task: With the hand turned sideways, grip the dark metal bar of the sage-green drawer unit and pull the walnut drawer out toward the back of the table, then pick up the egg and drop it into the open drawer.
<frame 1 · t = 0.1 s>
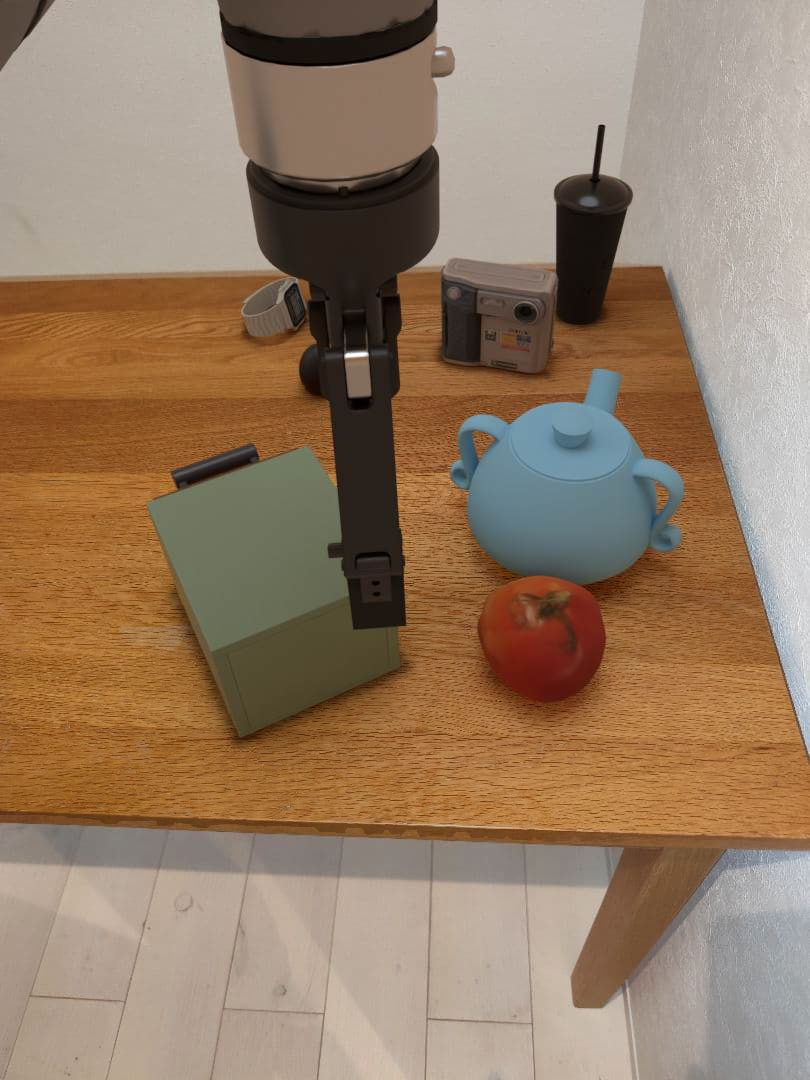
hand: (373, 525, 50), 20 cm above the table, tool pointing down, fingers open, 13 cm apart
drawer: (255, 548, 68), point 5 cm above the table, slide at 0.0 cm, touching cabinet
cabinet: (285, 630, 70), on the table
camera: (495, 358, 92), on the table
teapot: (565, 517, 77), on the table
drinking cup: (577, 313, 97), on the table
egg: (321, 388, 90), on the table
wristwatch: (275, 323, 98), on the table
tomato: (536, 666, 67), on the table
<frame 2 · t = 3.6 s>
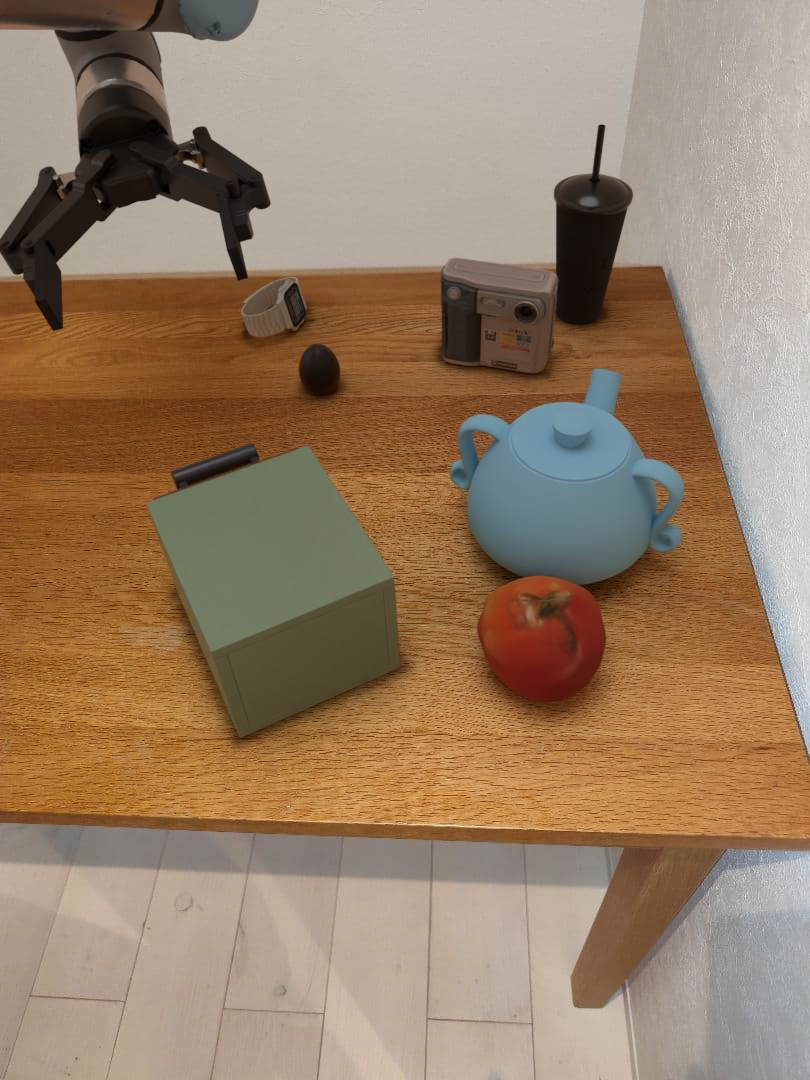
hand: (143, 290, 62), 22 cm above the table, tool horizontal, fingers open, 13 cm apart
nothing on the table moved.
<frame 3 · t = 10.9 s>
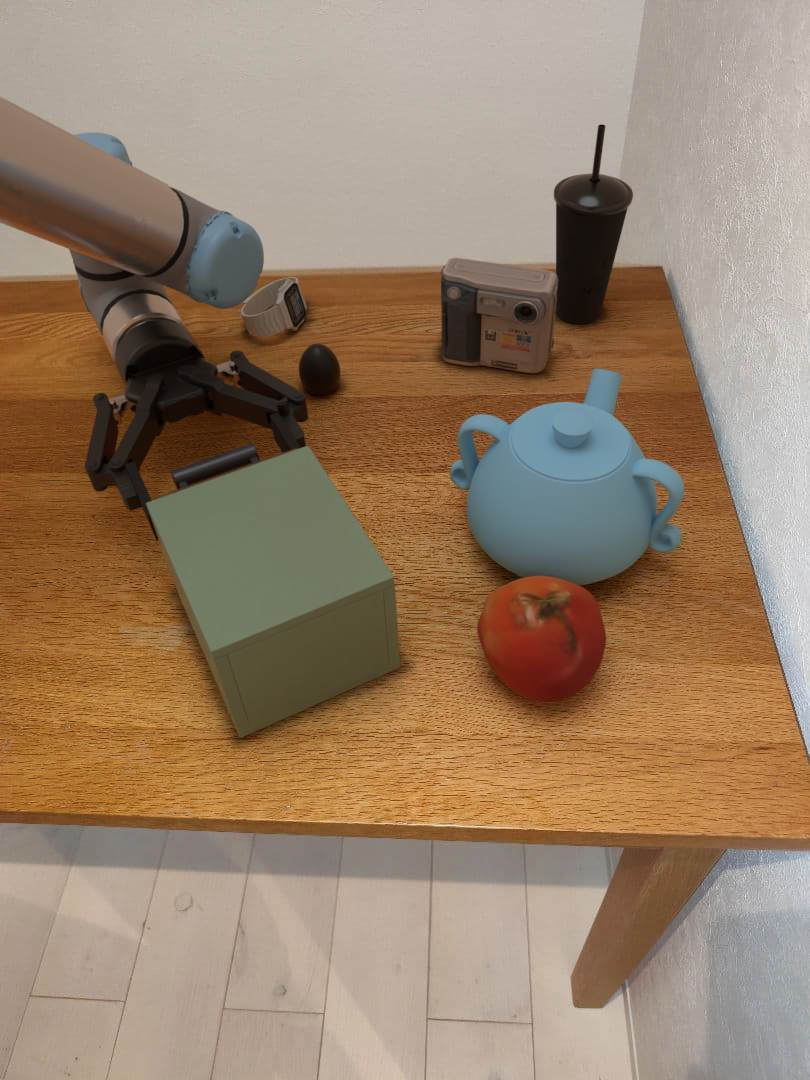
hand: (233, 499, 70), 7 cm above the table, tool horizontal, fingers closed on drawer, 12 cm apart
drawer: (255, 548, 68), point 5 cm above the table, slide at 0.0 cm, touching gripper
everything else where it was.
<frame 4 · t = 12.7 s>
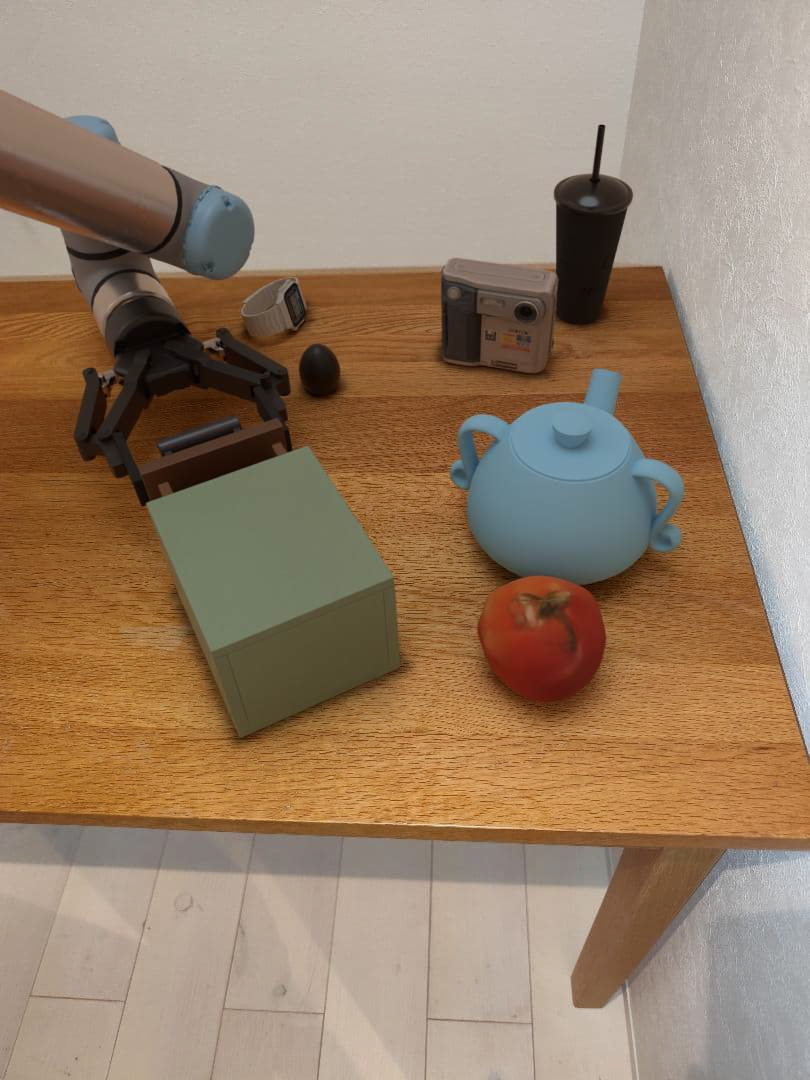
hand: (216, 467, 72), 7 cm above the table, tool horizontal, fingers closed on drawer, 12 cm apart
drawer: (237, 514, 71), point 5 cm above the table, slide at 4.1 cm, touching gripper
everything else where it was.
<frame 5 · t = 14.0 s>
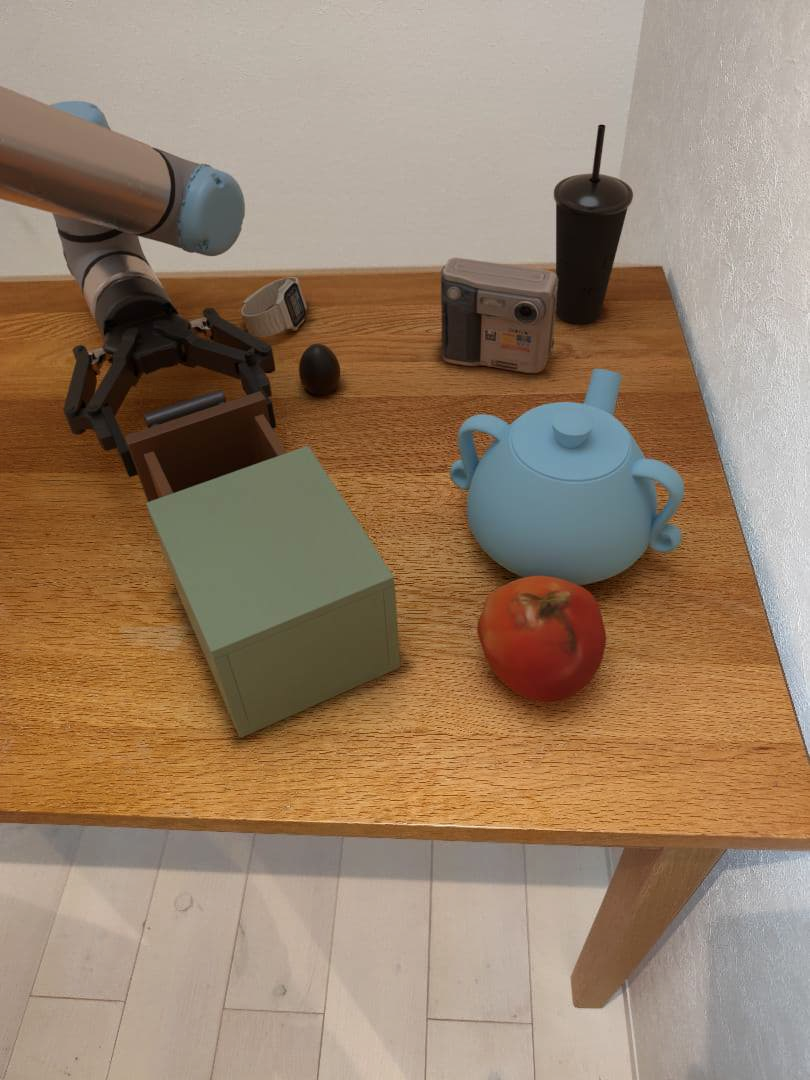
hand: (201, 440, 75), 7 cm above the table, tool horizontal, fingers closed on drawer, 12 cm apart
drawer: (221, 484, 73), point 5 cm above the table, slide at 8.0 cm, touching gripper
everything else where it was.
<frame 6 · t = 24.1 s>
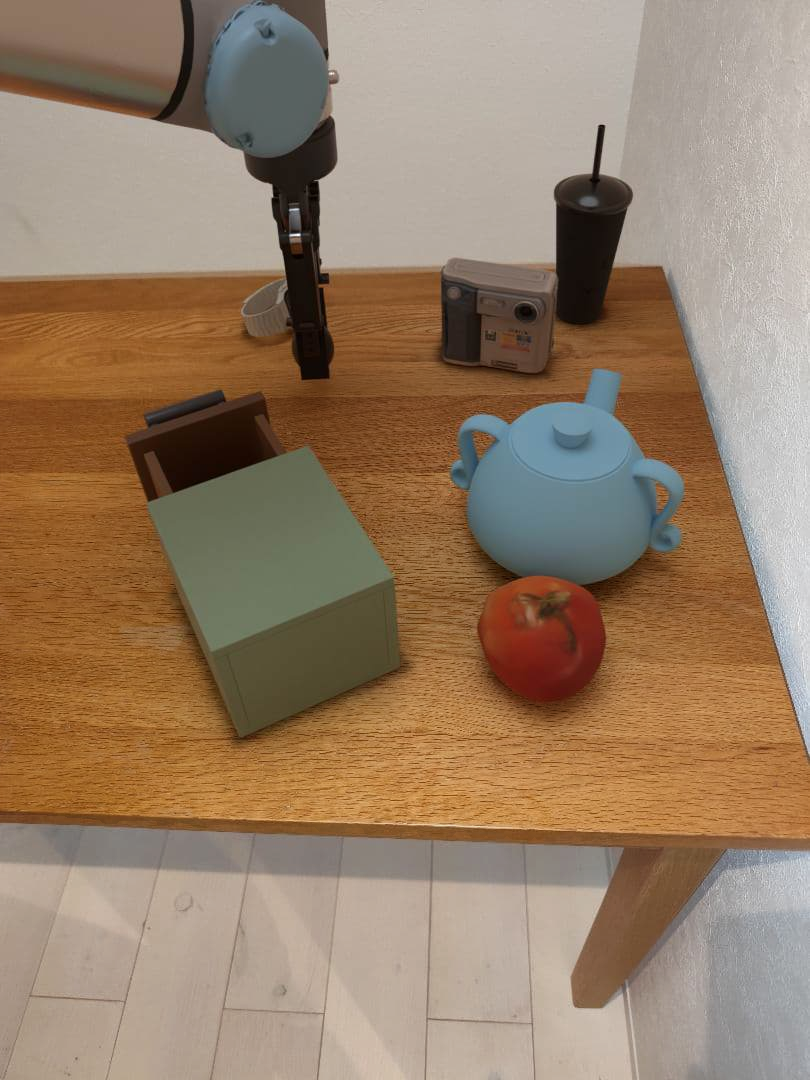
hand: (315, 361, 87), 3 cm above the table, tool pointing down, fingers closed on egg, 4 cm apart
drawer: (221, 483, 73), point 5 cm above the table, slide at 8.0 cm
egg: (315, 366, 88), point 3 cm above the table, touching gripper
everything else where it was.
when the fingers open (8 cm above the table, at t = 29.7 s): egg drops 4 cm, point 3 cm above the table.
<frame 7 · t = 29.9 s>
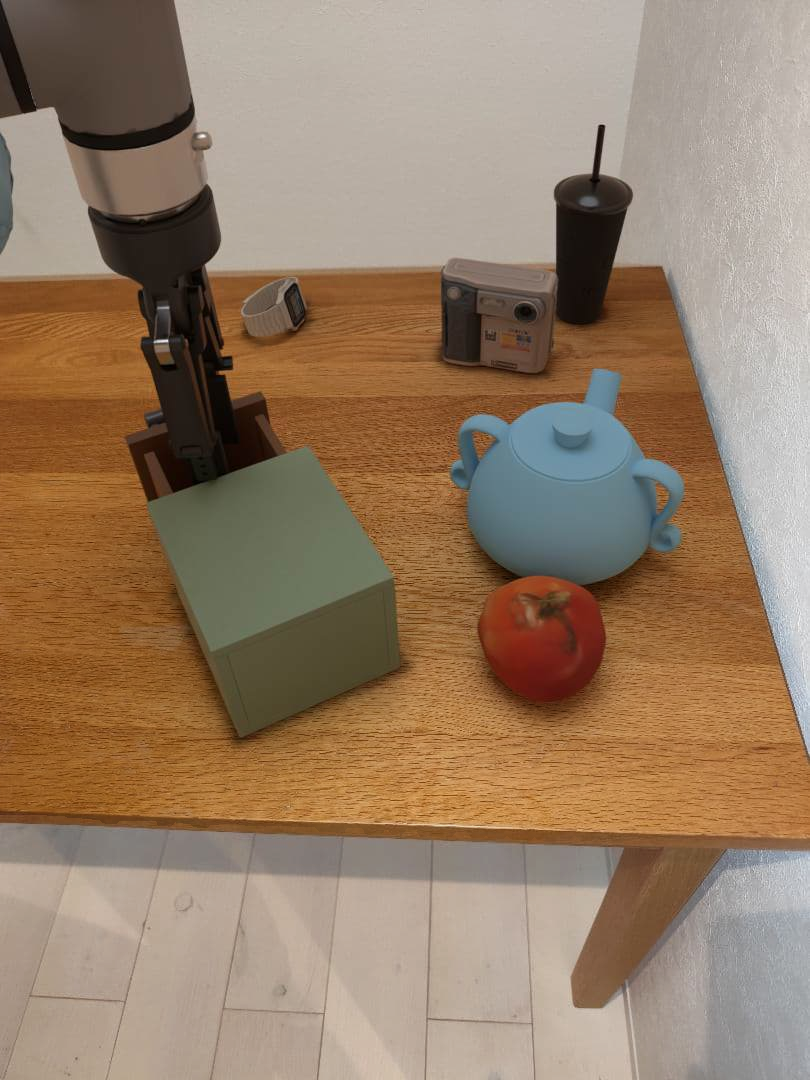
hand: (220, 469, 71), 8 cm above the table, tool pointing down, fingers open, 6 cm apart
egg: (231, 518, 74), point 3 cm above the table
everything else where it was.
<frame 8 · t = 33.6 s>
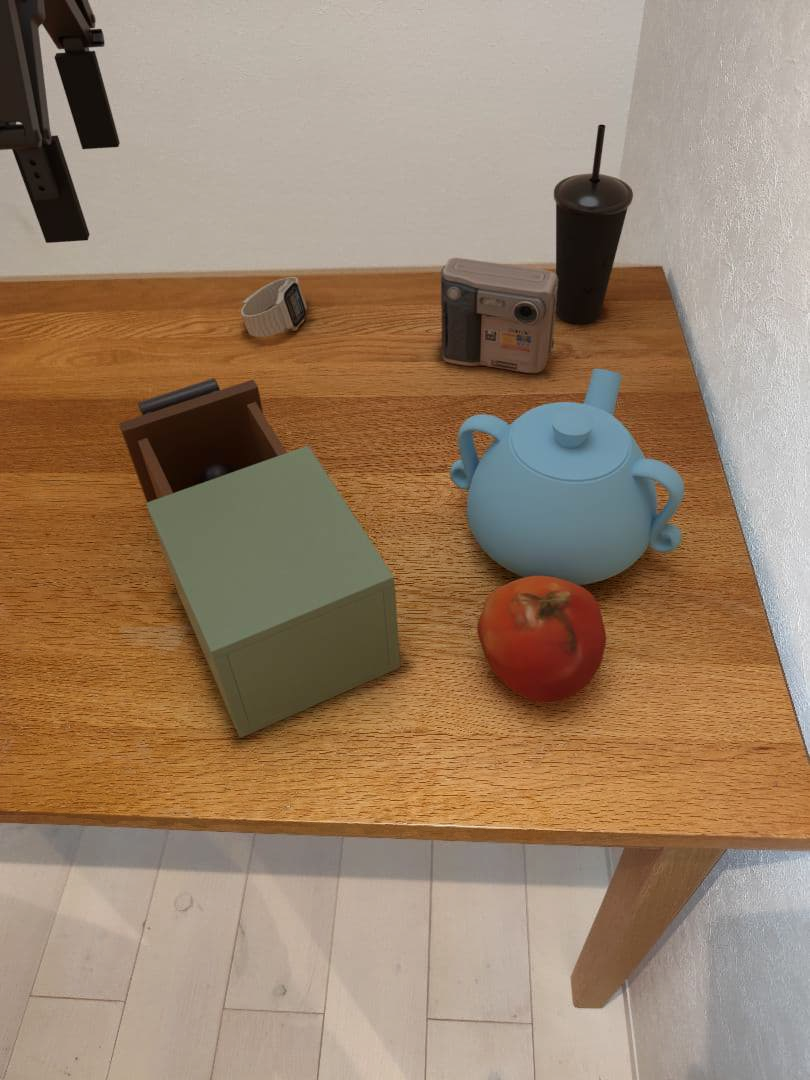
hand: (86, 189, 63), 27 cm above the table, tool pointing down, fingers open, 13 cm apart
drawer: (214, 471, 74), point 5 cm above the table, slide at 9.7 cm, touching egg
egg: (226, 511, 76), point 2 cm above the table, touching drawer
everything else where it was.
at the end: drawer slide at 9.7 cm; egg inside the target area in the drawer (4.9 cm from its centre), point 1.9 cm above the cabinet's base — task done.
